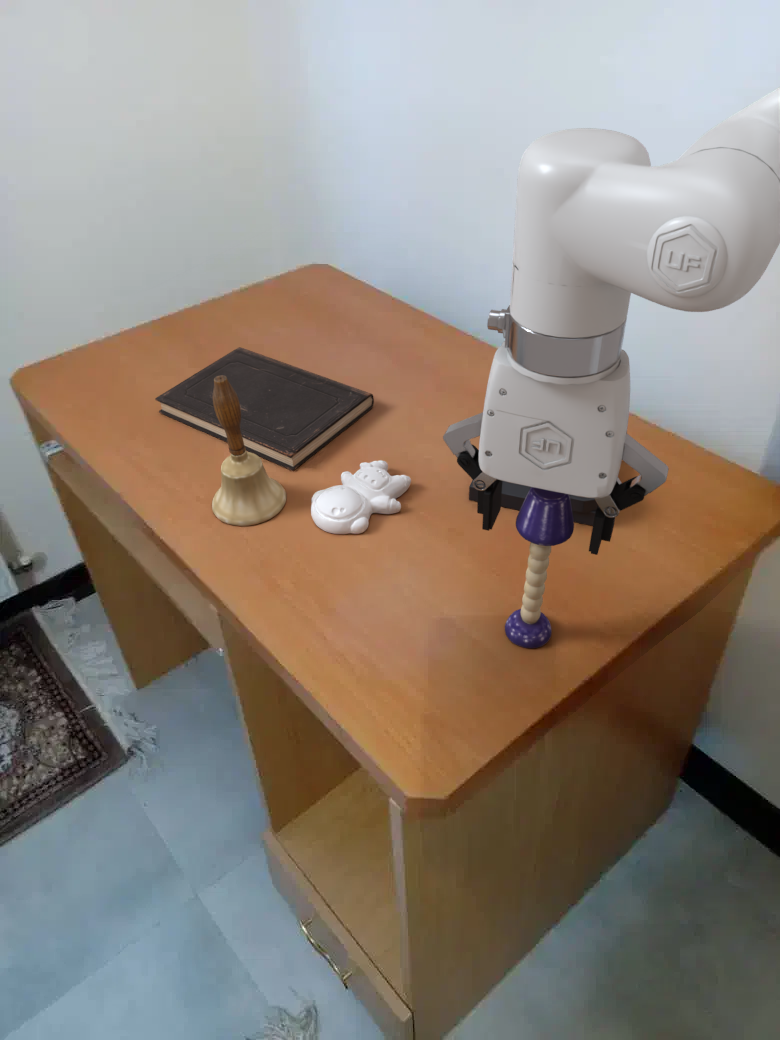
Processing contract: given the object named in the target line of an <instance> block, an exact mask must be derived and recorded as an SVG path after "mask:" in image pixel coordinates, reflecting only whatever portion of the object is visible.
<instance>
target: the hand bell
mask: <svg viewBox="0 0 780 1040" xmlns="http://www.w3.org/2000/svg"><path fill="white" fill-rule="evenodd" d="M213 405H214V410H215V413H216V416H217V418H218V420H219V422H220V424H221V425H222V427H223V428H224V430H225V433H226V436H227V441H228V443H227V446H228V452H229V453H230V455H228V456H227V457H226V458H225V459H224V460H223V461H222V463H221V465H220V475H221V483H220V484H221V485H220V487H219V488H218V489H217V491H216V492H215V494H214V496H213V498H212V501H211V510H212V513H213V515H214V516H215V517H216V518H217V519H218V520H219V521H220V522H223V523H224V524H228V525H231V526H238V527H248V526H255V525H258V524H262V523H265V522H266V521H269V520H270V519H273V518H274V517H275V516H277V515H278V514H279V513H280V512H281V511H282V510H283V508H284V506H285V505H286V502H287V492H286V490H285V488H284V487H283V485H282V484H281V483H280V482H279V481H278V480H276V479H274V478H272V477H270V476H269V475H268V473H267V471H266V469H265V466H264V463H263V460H262V458H261V457H259V456H257V455H256V454H254V453H251V452H248V451H246V448H245V445H244V442H243V438H242V435H241V431H240V423H241V408H240V403H239V399H238V397H237V394H236V392H235V390H234V389H233V387H232V386H231V384H230V383H229V381H228V379H227V377H226V376H224V375H220V376H217V377H215V378H214V390H213Z"/></svg>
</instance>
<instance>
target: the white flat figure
mask: <svg viewBox="0 0 780 1040" xmlns="http://www.w3.org/2000/svg"><path fill="white" fill-rule="evenodd" d="M388 469H389V464H388V462H387V461H386V460H382V459H380V460H373V461H370V462H367V461H365V462H361V463H360V464H359V469H358V470H356V471H355V473H352V472H351V471H348V470H347V471H346V470H345V471H343V472H342V473H341V474H340V480H341V482H340V483H341V484H338V485H332V486H330V487H327V488H325V489H320V490H317V491H316V492H314V493H313V494H312V496H311V500H310V501H311V505H310V516H311V518H312V521H313V522H314V524H315V525H316V527H317V528H319V529H321V531H324V532H326V533H329V534H335V535H347V534H354V535H360V534H362V533H364V532H366V531H367V529H368V528H369V524H370V523H369V520H370V518H371V515H372V514H381V515H382V514H383V515H391V514H396V513H397V514H398V513H399V512H400V511H401V510H402V509H401V508H402V505H401V502H400V501H398V500H397V499H398V498H399V497H401V496H403V494H404V493H406V492H407V491H408V490H409V488H410V485H411V483H412V479H411V477H410V476H409V475H406V474H400V475H399V474H396V475H391V474H390V473H389V471H388Z"/></svg>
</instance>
